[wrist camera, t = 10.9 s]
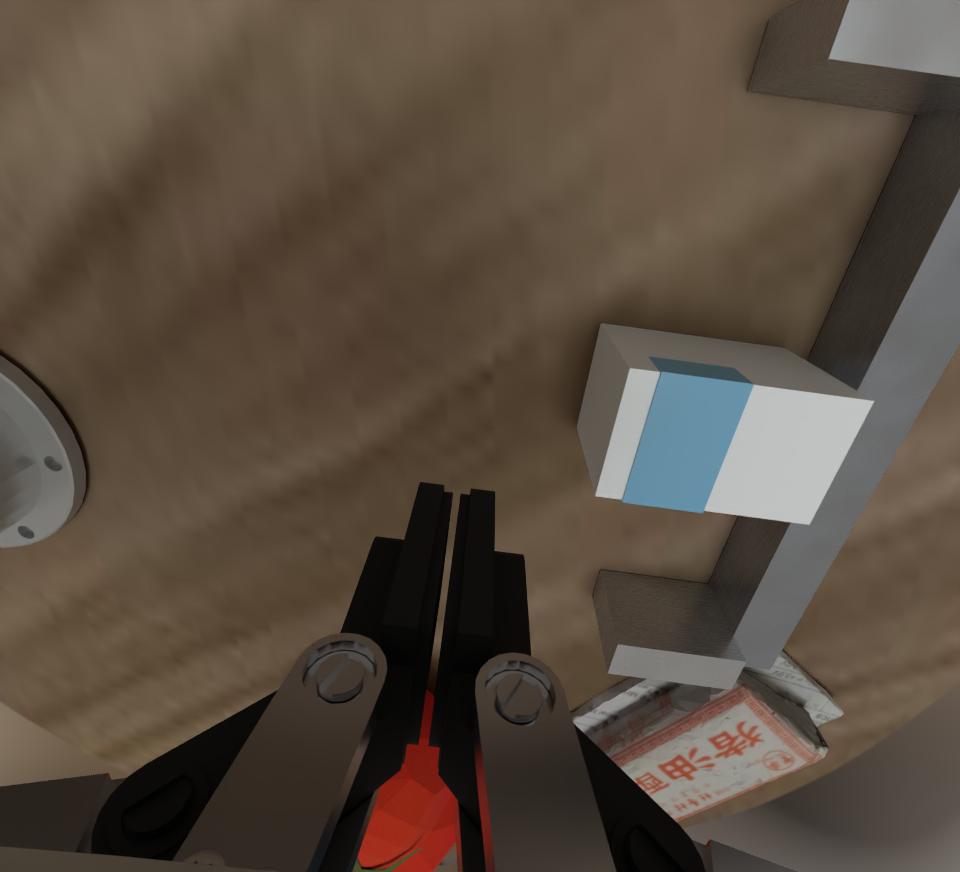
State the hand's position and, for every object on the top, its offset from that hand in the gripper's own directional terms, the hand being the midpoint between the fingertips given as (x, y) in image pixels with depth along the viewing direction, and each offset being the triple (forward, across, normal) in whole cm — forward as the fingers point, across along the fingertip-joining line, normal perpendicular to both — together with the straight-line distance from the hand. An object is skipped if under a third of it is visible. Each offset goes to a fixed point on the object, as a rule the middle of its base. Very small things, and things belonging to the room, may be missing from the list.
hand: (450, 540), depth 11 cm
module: (+12, -9, 0) cm, 15 cm away
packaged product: (+13, -16, +23) cm, 30 cm away
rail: (+12, -13, 0) cm, 18 cm away
